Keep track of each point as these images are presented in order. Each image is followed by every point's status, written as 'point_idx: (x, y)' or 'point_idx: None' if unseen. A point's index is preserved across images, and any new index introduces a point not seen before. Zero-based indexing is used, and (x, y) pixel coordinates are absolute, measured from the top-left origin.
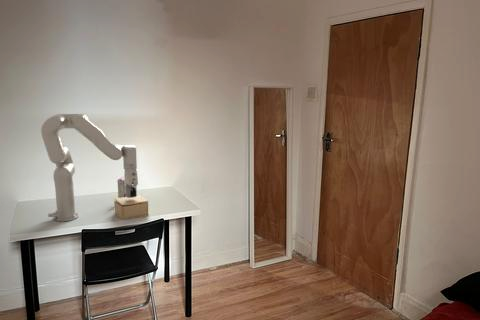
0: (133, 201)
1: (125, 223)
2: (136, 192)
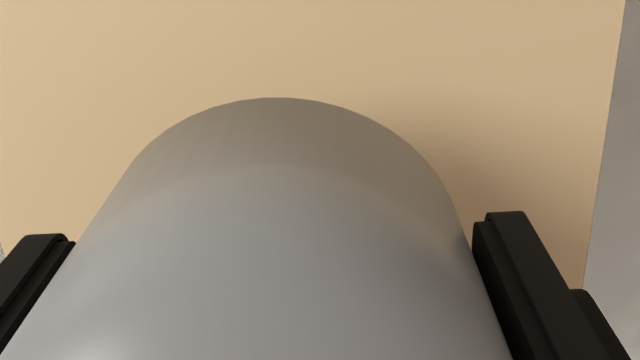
0: (485, 208)
1: (629, 262)
2: (394, 194)
